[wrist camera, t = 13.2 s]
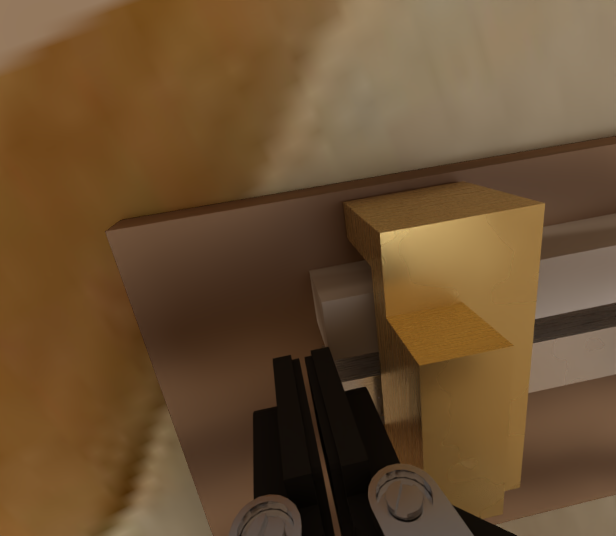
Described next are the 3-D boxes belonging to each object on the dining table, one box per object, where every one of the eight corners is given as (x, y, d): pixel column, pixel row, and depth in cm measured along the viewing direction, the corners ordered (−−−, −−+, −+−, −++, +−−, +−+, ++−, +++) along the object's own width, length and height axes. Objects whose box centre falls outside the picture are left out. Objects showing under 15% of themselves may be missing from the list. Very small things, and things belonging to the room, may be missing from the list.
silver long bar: (794, 300, 16) (897, 333, 14) (328, 396, 15) (345, 455, 12) (815, 242, 15) (930, 266, 13) (320, 338, 14) (336, 389, 11)
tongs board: (735, 435, 22) (835, 498, 18) (233, 556, 20) (229, 657, 16) (858, 94, 15) (1053, 85, 12) (120, 220, 13) (68, 258, 9)
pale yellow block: (461, 408, 16) (567, 551, 10) (368, 429, 15) (428, 587, 10) (463, 181, 12) (622, 224, 7) (343, 202, 12) (415, 263, 7)
